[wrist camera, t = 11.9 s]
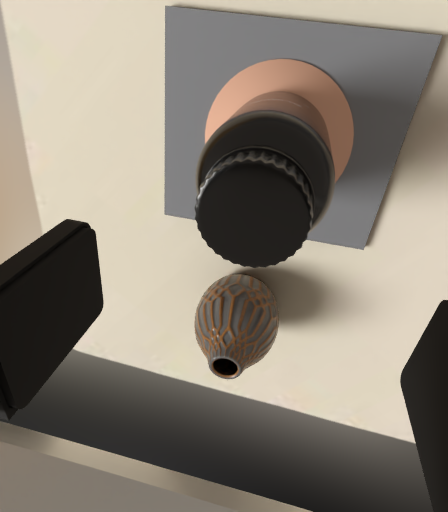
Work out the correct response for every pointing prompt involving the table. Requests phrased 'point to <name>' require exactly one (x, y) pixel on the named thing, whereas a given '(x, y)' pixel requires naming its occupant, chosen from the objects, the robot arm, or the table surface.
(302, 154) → the supplement bottle
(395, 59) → the mat
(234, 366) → the vase
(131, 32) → the table surface
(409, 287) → the table surface
